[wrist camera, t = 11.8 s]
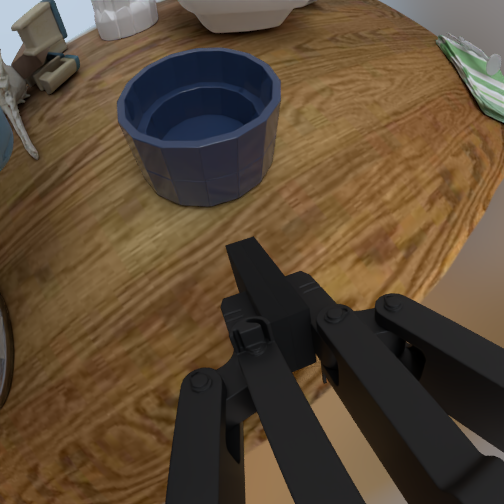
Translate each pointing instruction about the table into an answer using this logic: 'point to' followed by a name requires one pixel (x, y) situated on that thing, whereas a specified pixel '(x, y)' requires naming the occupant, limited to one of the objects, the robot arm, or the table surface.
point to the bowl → (241, 13)
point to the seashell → (14, 101)
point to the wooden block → (28, 62)
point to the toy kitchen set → (46, 45)
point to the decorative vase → (123, 17)
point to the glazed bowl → (202, 124)
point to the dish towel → (476, 77)
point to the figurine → (482, 56)
